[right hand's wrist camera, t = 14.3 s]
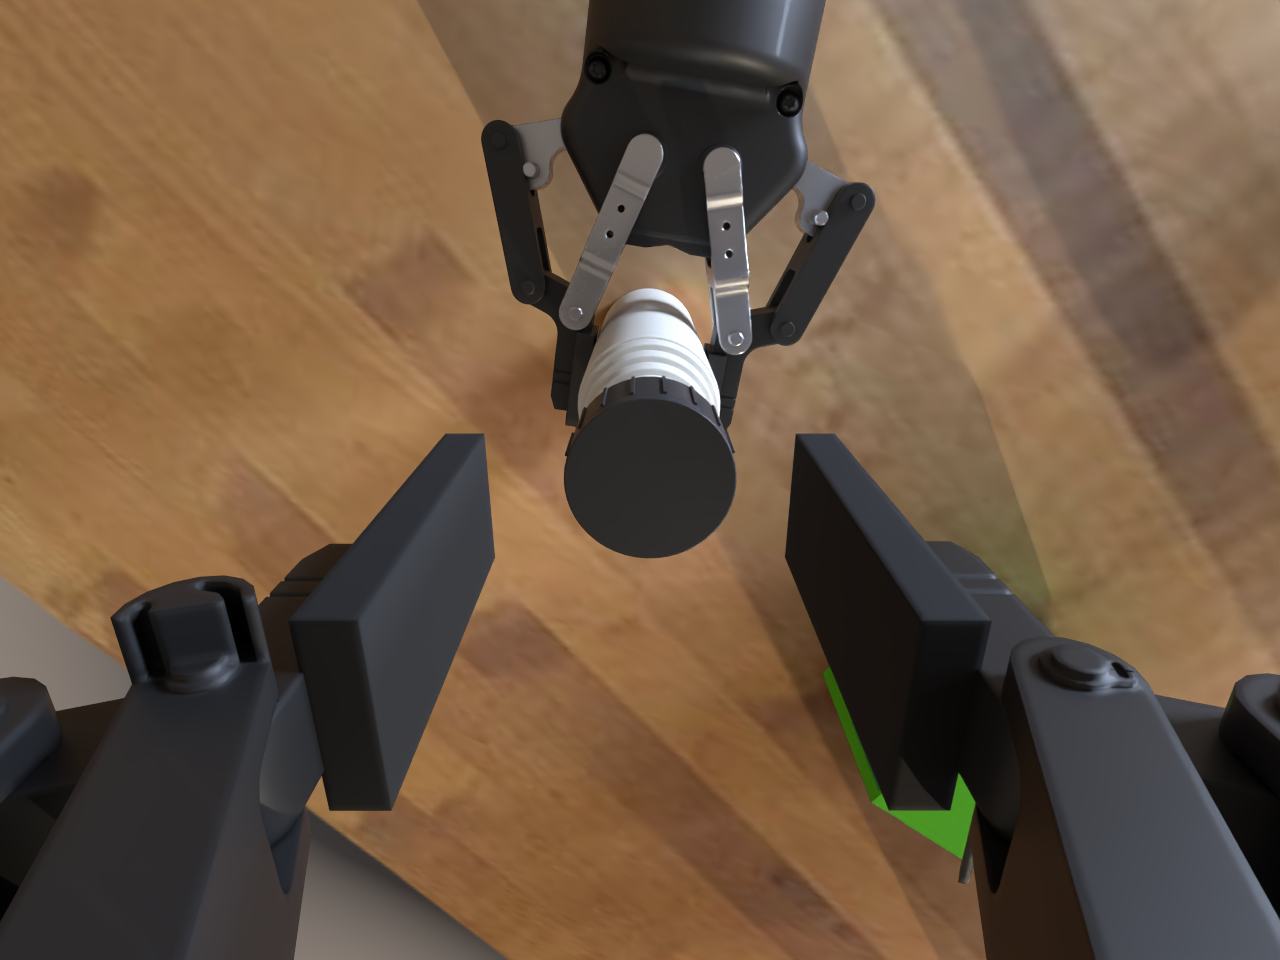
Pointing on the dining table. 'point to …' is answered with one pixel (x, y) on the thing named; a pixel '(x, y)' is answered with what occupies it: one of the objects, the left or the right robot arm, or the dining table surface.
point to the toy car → (934, 825)
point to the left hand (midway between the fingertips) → (638, 428)
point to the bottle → (648, 347)
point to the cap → (650, 468)
